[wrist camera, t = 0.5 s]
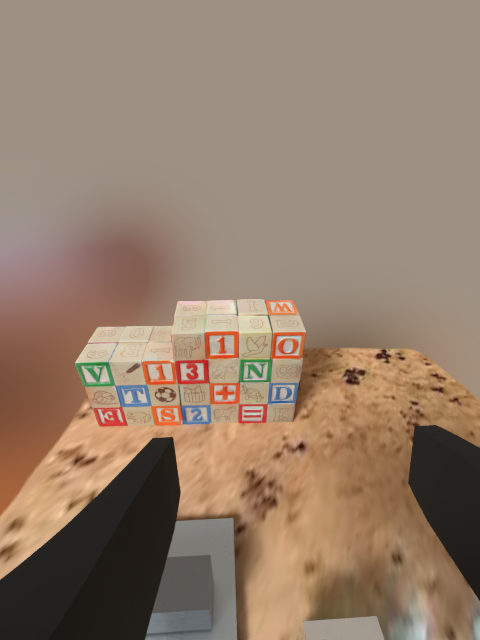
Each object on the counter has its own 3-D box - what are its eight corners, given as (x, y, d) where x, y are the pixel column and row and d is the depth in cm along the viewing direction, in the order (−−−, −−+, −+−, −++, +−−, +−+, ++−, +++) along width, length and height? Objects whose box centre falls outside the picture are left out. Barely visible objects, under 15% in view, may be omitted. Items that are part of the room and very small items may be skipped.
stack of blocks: (97, 429, 32) (62, 335, 26) (115, 387, 37) (90, 301, 31) (294, 422, 33) (308, 330, 26) (284, 382, 38) (294, 297, 32)
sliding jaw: (212, 629, 18) (209, 609, 16) (77, 638, 18) (58, 619, 16) (213, 577, 20) (210, 554, 18) (92, 584, 20) (77, 562, 18)
